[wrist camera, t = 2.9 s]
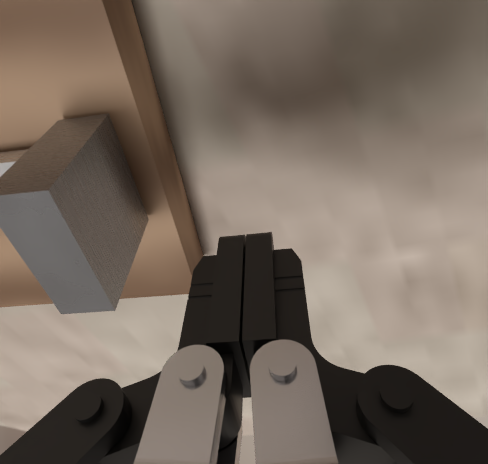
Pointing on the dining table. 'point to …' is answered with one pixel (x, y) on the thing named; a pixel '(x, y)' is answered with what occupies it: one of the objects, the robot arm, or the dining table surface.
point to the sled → (74, 213)
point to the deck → (88, 104)
